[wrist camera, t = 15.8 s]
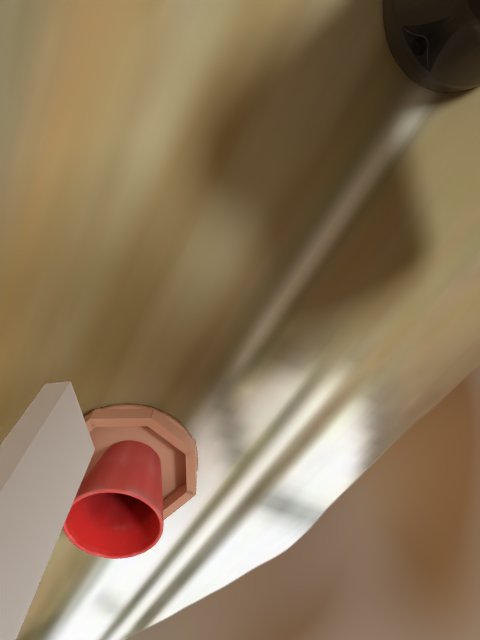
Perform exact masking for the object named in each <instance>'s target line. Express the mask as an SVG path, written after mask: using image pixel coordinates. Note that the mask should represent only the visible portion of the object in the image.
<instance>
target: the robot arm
mask: <svg viewBox="0 0 480 640" xmlns="http://www.w3.org/2000/svg"><path fill="white" fill-rule="evenodd" d="M383 17H384V26H385V32H386V37H387V40H388V43H389V46H390V49H391V51H392V54H393V56H394V58H395V59H396V61H397V63H398V64H399V66H400V67H401V68H402V70H403V71H404V72H405V73H406V74H407V75H408V76H409V77H410V78H411V79H412V80H414V81H415V82H417V83H418V84H420V85H422V86H424V87H426V88H428V89H431V90H434V91H439V92H460V91H465V90H469V89H472V88H475V87H478V86H480V0H383ZM94 451H95V448H94V445H93V442H92V440H91V437H90V434H89V431H88V428H87V426H86V423H85V420H84V417H83V414H82V412H81V409H80V406H79V403H78V400H77V398H76V395H75V392H74V389H73V386H72V384H71V381H69V382H59V383H48V384H45V385H44V386H43V387H42V389H41V390H40V392H39V393H38V394H37V396H36V397H35V398H34V400H33V401H32V402H31V404H30V405H29V407H28V408H27V409H26V411H25V412H24V413H23V415H22V416H21V417H20V419H19V420H18V422H17V423H16V424H15V426H14V427H13V428H12V430H11V431H10V432H9V434H8V435H7V437H6V438H5V439H4V441H3V442H2V443H1V445H0V640H16V638H17V636H18V633H19V631H20V628H21V626H22V624H23V621H24V619H25V616H26V614H27V612H28V609H29V607H30V604H31V602H32V600H33V597H34V595H35V592H36V590H37V588H38V585H39V583H40V580H41V578H42V576H43V573H44V571H45V568H46V566H47V564H48V561H49V559H50V556H51V554H52V552H53V549H54V547H55V544H56V542H57V540H58V537H59V535H60V532H61V530H62V528H63V525H64V523H65V520H66V518H67V516H68V513H69V511H70V508H71V506H72V504H73V501H74V499H75V496H76V494H77V492H78V489H79V487H80V485H81V482H82V480H83V477H84V475H85V473H86V470H87V468H88V465H89V463H90V461H91V458H92V456H93V453H94Z"/></svg>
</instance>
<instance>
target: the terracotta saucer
mask: <svg viewBox="0 0 480 640" xmlns="http://www.w3.org/2000/svg"><path fill="white" fill-rule="evenodd" d="M84 420H85V423H86V426H87V428H88V431H89V434H90V437H91V440H92V442H93V445H94V448H95V451H94V453H93V456H92V458H91V461H90V463H89V465H88V468H87V470H86V473H85V475H84V477H83V480H82V482H81V484H82V483H83V481H84V480H85V478H86V477H87V475H88V474H89V473H90V471H91V470H92V468H93V467H94V466H95V464H96V463H97V462H98V460H99V459H100V458H101V457H102V455H103V454H104V453H105V451H106V450H107V449H108V448H109V447H110V446H112V445H114V444H115V443H118V442H121V441H138V442H142V443H144V444H147V445H148V446H150V447H151V448H152V449H153V450H154V451H155V452H156V453H157V454H158V456H159V458H160V461H161V473H162V491H163V520H165V519H166V518H167V517H168V516H170V515H171V514H172V513H173V512H175V511H176V510H177V509H178V508H180V507H181V506H182V505H183V504H185V503H186V502H187V501H188V500H190V499H191V498H192V497H193V496H195V495H196V487H197V467H198V453H197V448H196V441H195V440H194V439H193V438H192V436H191V435H190V433H189V432H188V430H187V429H186V428H185V427H184V426H183V425H182V424H181V423H180V422H179V421H178V420H176V419H175V418H173V417H172V416H170V415H169V414H167V413H165V412H163V411H161V410H158V409H155V408H152V407H149V406H145V405H138V404H115V405H110V406H106V407H102V408H99V409H94V410H93V411H92V412H90V413H89V414H87V415H85V416H84Z"/></svg>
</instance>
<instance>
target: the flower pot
mask: <svg viewBox="0 0 480 640" xmlns="http://www.w3.org/2000/svg"><path fill="white" fill-rule="evenodd" d="M63 530H64V532H65V534H66V536H67V537H68V539H69V540H70V541H71V542H72V543H73V544H74V545H76V546H77V547H78V548H80V549H81V550H83V551H85V552H87V553H89V554H92V555H95V556H99V557H104V558H113V559H118V558H128V557H132V556H136V555H139V554H141V553H144V552H146V551H147V550H149V549H151V548H152V547H153V546H154V545H155V544H156V543H157V542H158V541H159V539H160V537H161V535H162V532H163V491H162V473H161V461H160V458H159V456H158V454H157V453H156V452H155V451H154V450H153V449H152V448H151V447H150V446H148V445H147V444H144V443H142V442H138V441H121V442H118V443H115V444H114V445H112V446H110V447H109V448H108V449H107V450H106V451H105V453H104V454H103V455H102V457H101V458H100V459H99V460H98V462H97V463H96V464H95V466H94V467H93V468H92V470H91V471H90V473H89V474H88V475H87V477H86V478H85V480H84V481H83V483H82V484H81V485H80V487H79V489H78V492H77V494H76V496H75V499H74V501H73V504H72V506H71V508H70V511H69V513H68V516H67V518H66V520H65V523H64V525H63Z"/></svg>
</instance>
